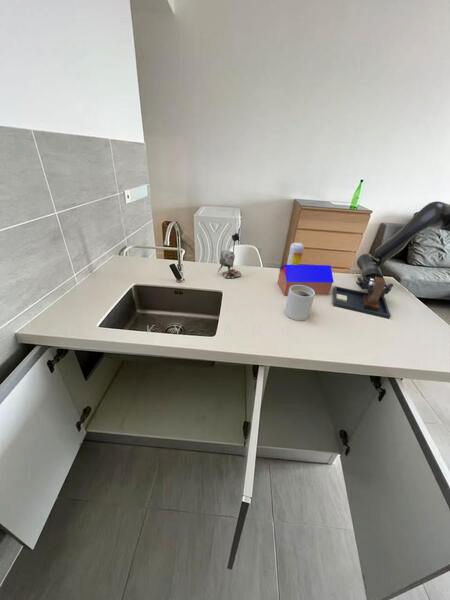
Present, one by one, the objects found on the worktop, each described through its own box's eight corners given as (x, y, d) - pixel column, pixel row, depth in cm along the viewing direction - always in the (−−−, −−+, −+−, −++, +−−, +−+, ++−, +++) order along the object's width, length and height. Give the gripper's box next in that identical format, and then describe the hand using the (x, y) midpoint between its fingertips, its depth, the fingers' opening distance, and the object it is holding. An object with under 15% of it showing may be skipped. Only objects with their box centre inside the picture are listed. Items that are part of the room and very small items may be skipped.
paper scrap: (346, 297, 102) (346, 295, 102) (346, 302, 99) (347, 300, 98) (336, 295, 103) (336, 293, 103) (335, 300, 100) (336, 298, 100)
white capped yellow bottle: (300, 274, 121) (307, 245, 114) (291, 276, 118) (298, 247, 111) (291, 269, 126) (297, 241, 118) (282, 272, 123) (288, 243, 115)
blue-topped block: (276, 282, 112) (280, 259, 106) (318, 283, 114) (324, 259, 108) (283, 296, 102) (288, 270, 96) (329, 296, 104) (337, 271, 98)
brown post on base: (375, 302, 100) (386, 277, 94) (377, 311, 94) (389, 285, 88) (362, 299, 102) (372, 274, 96) (363, 308, 95) (374, 282, 89)
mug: (294, 322, 86) (300, 298, 81) (278, 309, 93) (283, 286, 88) (317, 316, 90) (324, 293, 85) (300, 303, 97) (306, 281, 92)
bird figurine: (218, 271, 120) (219, 230, 109) (240, 272, 120) (244, 231, 110) (217, 278, 113) (218, 235, 103) (241, 279, 113) (245, 237, 103)
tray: (382, 300, 103) (384, 296, 102) (388, 320, 90) (390, 315, 89) (333, 290, 109) (334, 286, 108) (332, 307, 96) (334, 302, 95)
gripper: (357, 265, 106) (360, 281, 92) (393, 271, 102) (402, 289, 88) (351, 280, 110) (353, 298, 96) (386, 287, 106) (393, 306, 92)
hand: (376, 293), depth 92 cm, fingers closed on brown post on base, 3 cm apart
